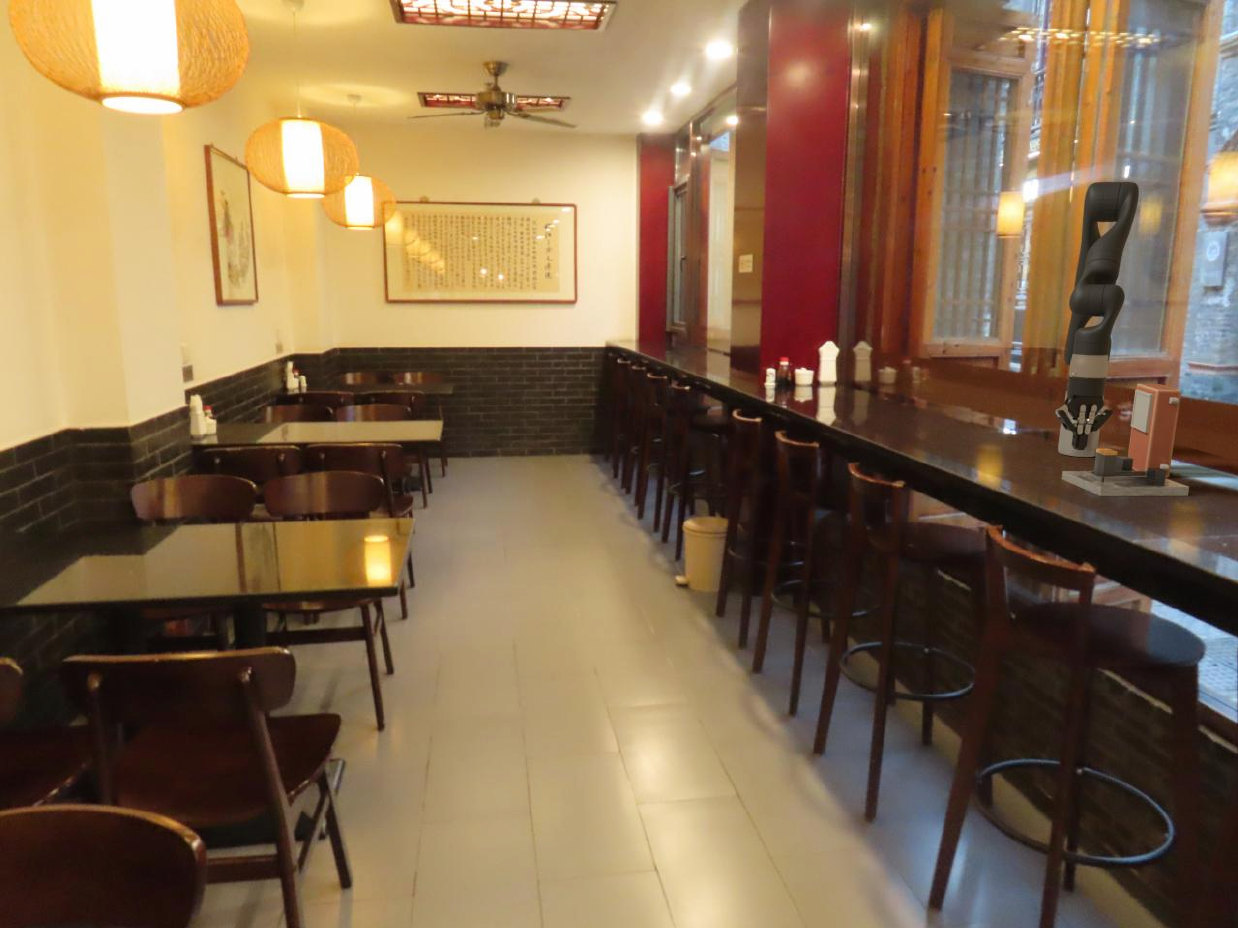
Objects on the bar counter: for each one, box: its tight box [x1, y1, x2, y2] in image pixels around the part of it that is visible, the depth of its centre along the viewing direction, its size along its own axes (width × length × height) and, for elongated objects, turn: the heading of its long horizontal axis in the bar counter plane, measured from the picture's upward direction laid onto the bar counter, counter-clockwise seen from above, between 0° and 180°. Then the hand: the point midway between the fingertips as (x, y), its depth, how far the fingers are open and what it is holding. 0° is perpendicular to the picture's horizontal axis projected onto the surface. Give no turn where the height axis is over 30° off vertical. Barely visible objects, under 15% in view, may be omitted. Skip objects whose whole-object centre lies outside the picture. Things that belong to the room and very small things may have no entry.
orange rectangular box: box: [1127, 383, 1182, 478], centre depth 211 cm, size 21×7×15 cm
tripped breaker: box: [1093, 448, 1118, 477], centre depth 196 cm, size 4×3×6 cm
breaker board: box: [1061, 456, 1190, 497], centre depth 197 cm, size 16×20×6 cm
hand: (1078, 449), depth 195 cm, fingers closed
